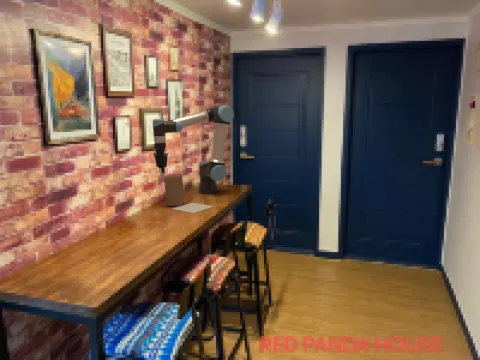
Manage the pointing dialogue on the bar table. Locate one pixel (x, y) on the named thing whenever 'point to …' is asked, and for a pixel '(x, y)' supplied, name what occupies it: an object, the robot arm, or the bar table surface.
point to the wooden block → (174, 189)
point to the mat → (192, 208)
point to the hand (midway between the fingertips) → (162, 177)
